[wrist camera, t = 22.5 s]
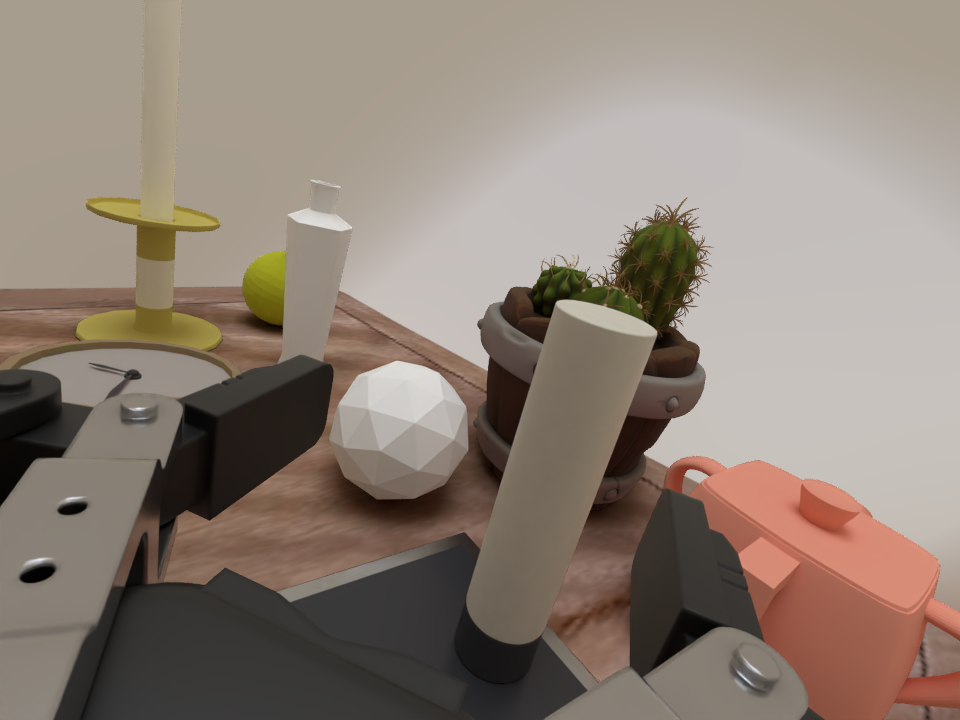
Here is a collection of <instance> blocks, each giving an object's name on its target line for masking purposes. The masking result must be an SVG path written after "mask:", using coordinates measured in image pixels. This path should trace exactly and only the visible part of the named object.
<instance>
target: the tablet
mask: <svg viewBox="0 0 960 720" xmlns="http://www.w3.org/2000/svg"><path fill="white" fill-rule="evenodd" d="M479 553H480V549H479V548H478V547H477V546H476V544H475V543H474V542H473V541H472V540H471V539H470V538H469V537H468V535H467V534H466V533H465V532H463V533H460V534H457V535H454V536H451V537H447V538H444V539H441V540H438V541H435V542H432V543H428V544H425V545H422V546H419V547H416V548H413V549H409V550H406V551H403V552H400V553H397V554H394V555H391V556H387V557H384V558H381V559H378V560H375V561H372V562H368V563H365V564H362V565H359V566H356V567H353V568H349V569H346V570H343V571H340V572H337V573H334V574H330V575H327V576H324V577H321V578H318V579H315V580H312V581H308V582H305V583H302V584H299V585H296V586H293V587H289V588H286V589H283V590H280V591H277V593H279V594H281V595H282V596H283V597H284V598H286V599H287V600H288V601H289V602H290V603H291V604H292V605H294V606H295V607H296V608H297V609H298V610H299V611H301V612H302V613H303V614H304V615H305V616H306V617H307V618H309V619H310V620H311V621H312V622H313V623H314V624H315V625H317V626H318V627H319V628H320V629H321V630H322V631H323V632H325V633H326V634H327V635H329V636H331V637H333V638H336V639H340V640H345V641H350V642H354V643H359V644H364V645H368V646H373V647H378V648H383V649H387V650H392V651H397V652H402V653H405V654H407V655H410V656H412V657H414V658H416V659H418V660H420V661H422V662H424V663H426V664H428V665H430V666H433V667H435V668H437V669H439V670H441V671H443V672H445V673H447V674H449V675H451V676H454V677H456V678H458V679H460V680H462V681H464V682H466V683H468V684H469V687H468V690H467V693H466V696H465V699H464V702H463V705H462V709H463V710H464V711H465V712H466V713H468V714H469V715H470V716H471V717H472V718H473V719H474V720H543V719H545V718H546V717H548V716H549V715H551V714H552V713H554V712H556V711H557V710H559V709H560V708H562V707H563V706H565V705H566V704H568V703H570V702H571V701H573V700H574V699H576V698H577V697H579V696H580V695H582V694H584V693H585V692H587V691H588V690H590V689H591V688H593V687H594V686H596V685H598V684H599V682H598V681H597V680H596V679H595V677H594V676H593V675H592V674H591V673H590V672H589V671H588V670H587V669H586V667H585V666H584V665H583V664H582V663H581V662H580V661H579V660H578V658H577V657H576V656H575V655H574V654H573V653H572V652H571V651H570V650H569V648H568V647H567V646H566V645H565V644H564V643H563V642H562V641H561V639H560V638H559V637H558V636H557V635H556V634H555V633H554V632H553V631H552V629H551V628H550V627H549V626H548V625H547V624H546V627H545V629H544V632H543V635H542V638H541V640H540V643H539V645H538V648H537V651H536V653H535V656H534V658H533V661H532V664H531V666H530V668H529V670H528V671H527V673H526V674H525V675H524V676H522V677H521V678H520V679H518V680H516V681H513V682H510V683H494V682H490V681H487V680H484V679H482V678H480V677H478V676H477V675H475V674H474V673H472V672H471V671H470V670H469V669H468V668H467V667H466V666H465V665H464V663H463V662H462V660H461V659H460V657H459V655H458V653H457V650H456V646H455V632H456V629H457V626H458V622H459V619H460V616H461V612H462V609H463V606H464V603H465V599H466V596H467V593H468V589H469V586H470V583H471V580H472V576H473V573H474V570H475V566H476V563H477V560H478V557H479Z"/></svg>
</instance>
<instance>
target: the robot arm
mask: <svg viewBox="0 0 960 720" xmlns="http://www.w3.org/2000/svg"><path fill="white" fill-rule="evenodd" d="M332 382H333V368H332V366H331V365H330V364H328V363H325V362H322V361H319V360H317V359H314V358H311V357H308V356H306V355H298V356H296V357H293V358H291V359H289V360H286V361H284V362H281V363H279V364H277V365H274V366H268V367H261V368H254V369H251V370H249V371H246V372H244V373H241V374H239V375H236V377H235V378H234V377H232V378H229V379H227V380H224V381H222V383H221V384H220V383H217V384H214V385H212V386H209V387H207V388H204V389H202V390H199V391H197V392H194V393H192V394H189V395H187V396H184V397H182V398H180V399H177V400H175V399H173V398H171V397H168V396H164V395H160V394H153V393H130V394H123V395H118V396H114V397H111V398H108V399H105V400H103V401H102V402H100V403H98V404H97V405H96V406H95V407H94V408H93V407H87V406H82V405H76V404H71V403H65V402H62V392H61V381H60V380H59V378H57V377H56V376H54V375H52V374H50V373H46V372H42V371H37V370H27V369H8V370H0V720H474V719H473V718H472V717H471V716H470V715H469V714H468V713H466V712H465V711H464V710H463V709H462V705H463V702H464V699H465V696H466V693H467V690H468V687H469V684H468V683H466V682H464V681H462V680H460V679H458V678H456V677H454V676H451V675H449V674H447V673H445V672H443V671H441V670H439V669H437V668H435V667H433V666H430V665H428V664H426V663H424V662H422V661H420V660H418V659H416V658H414V657H412V656H410V655H407V654H405V653H402V652H397V651H392V650H387V649H383V648H378V647H373V646H368V645H364V644H359V643H354V642H350V641H345V640H340V639H336V638H333V637H331V636H329V635H327V634H326V633H325V632H323V631H322V630H321V629H320V628H319V627H318V626H317V625H315V624H314V623H313V622H312V621H311V620H310V619H309V618H307V617H306V616H305V615H304V614H303V613H302V612H301V611H299V610H298V609H297V608H296V607H295V606H294V605H292V604H291V603H290V602H289V601H288V600H287V599H286V598H284V597H283V596H282V595H281V594H279V593H277V592H275V591H273V590H271V589H269V588H267V587H265V586H263V585H260V584H258V583H256V582H254V581H252V580H250V579H248V578H246V577H244V576H242V575H239V574H237V573H235V572H233V571H231V570H229V569H227V568H224V569H223V570H222V571H221V572H220V573H218V574H217V575H216V576H215V577H214V578H213V579H211V580H210V581H209V582H208V583H207V584H206V585H201V584H193V583H182V582H164V579H165V575H166V571H167V567H168V563H169V559H170V555H171V551H172V547H173V543H174V539H175V535H176V531H177V525H178V515H179V514H181V513H183V512H184V511H186V510H188V511H190V512H192V513H194V514H196V515H199V516H201V517H203V518H205V519H207V520H209V521H210V520H211V519H212V518H214V517H215V516H217V515H218V514H219V513H221V512H222V511H224V510H225V509H226V508H228V507H229V506H230V505H232V504H233V503H235V502H236V501H237V500H239V499H240V498H242V497H243V496H244V495H246V494H247V493H249V492H250V491H251V490H253V489H254V488H256V487H257V486H258V485H260V484H261V483H262V482H264V481H265V480H267V479H268V478H269V477H271V476H272V475H274V474H275V473H276V472H278V471H279V470H281V469H282V468H283V467H285V466H286V465H288V464H289V463H290V462H292V461H293V460H294V459H296V458H297V457H299V456H300V455H301V454H303V453H304V452H306V451H307V450H308V449H310V448H311V447H312V446H314V445H315V444H316V442H317V441H318V440H319V438H320V437H321V435H322V433H323V431H324V428H325V425H326V420H327V414H328V407H329V401H330V395H331V388H332ZM743 573H744V572H743V568H742V565H741V562H740V558H739V555H738V553H737V552H736V550H735V549H734V548H733V546H732V545H731V544H730V543H729V541H728V540H727V539H726V537H725V536H724V535H723V534H722V533H720V532H717V531H714V530H712V529H709V524H708V520H707V516H706V512H705V507H704V504H703V502H702V501H701V500H698V499H695V498H692V497H690V496H687V495H684V494H682V493H679V492H676V491H673V490H671V489H668V488H666V489H664V491H663V492H662V494H661V495H660V498H659V500H658V502H657V504H656V507H655V509H654V511H653V513H652V516H651V518H650V520H649V523H648V525H647V527H646V529H645V532H644V534H643V536H642V539H641V541H640V543H639V545H638V548H637V551H636V554H635V557H634V561H633V565H632V571H631V611H630V666H629V667H625V668H623V669H621V670H619V671H618V672H616V673H615V674H613V675H611V676H610V677H608V678H607V679H605V680H604V681H602V682H601V683H599V684H598V685H596V686H594V687H593V688H591V689H590V690H588V691H587V692H585V693H584V694H582V695H580V696H579V697H577V698H576V699H574V700H573V701H571V702H570V703H568V704H566V705H565V706H563V707H562V708H560V709H559V710H557V711H556V712H554V713H552V714H551V715H549V716H548V717H546V718H545V719H543V720H825V719H823V718H822V717H821V716H819V715H818V714H816V713H815V712H814V711H813V710H811V709H810V708H809V707H808V703H809V702H808V695H807V692H806V689H805V686H804V684H803V682H802V680H801V679H800V677H799V676H798V674H797V673H796V671H795V670H794V669H793V668H792V666H791V665H790V664H789V663H788V662H787V661H786V660H785V659H784V658H783V657H782V656H781V655H780V654H779V653H778V652H777V651H775V650H774V649H773V648H772V647H770V646H769V645H768V644H766V643H765V641H764V638H763V635H762V631H761V628H760V625H759V621H758V618H757V615H756V611H755V608H754V605H753V601H752V598H751V595H750V592H748V589H749V588H748V585H747V582H746V578H745V576H743Z"/></svg>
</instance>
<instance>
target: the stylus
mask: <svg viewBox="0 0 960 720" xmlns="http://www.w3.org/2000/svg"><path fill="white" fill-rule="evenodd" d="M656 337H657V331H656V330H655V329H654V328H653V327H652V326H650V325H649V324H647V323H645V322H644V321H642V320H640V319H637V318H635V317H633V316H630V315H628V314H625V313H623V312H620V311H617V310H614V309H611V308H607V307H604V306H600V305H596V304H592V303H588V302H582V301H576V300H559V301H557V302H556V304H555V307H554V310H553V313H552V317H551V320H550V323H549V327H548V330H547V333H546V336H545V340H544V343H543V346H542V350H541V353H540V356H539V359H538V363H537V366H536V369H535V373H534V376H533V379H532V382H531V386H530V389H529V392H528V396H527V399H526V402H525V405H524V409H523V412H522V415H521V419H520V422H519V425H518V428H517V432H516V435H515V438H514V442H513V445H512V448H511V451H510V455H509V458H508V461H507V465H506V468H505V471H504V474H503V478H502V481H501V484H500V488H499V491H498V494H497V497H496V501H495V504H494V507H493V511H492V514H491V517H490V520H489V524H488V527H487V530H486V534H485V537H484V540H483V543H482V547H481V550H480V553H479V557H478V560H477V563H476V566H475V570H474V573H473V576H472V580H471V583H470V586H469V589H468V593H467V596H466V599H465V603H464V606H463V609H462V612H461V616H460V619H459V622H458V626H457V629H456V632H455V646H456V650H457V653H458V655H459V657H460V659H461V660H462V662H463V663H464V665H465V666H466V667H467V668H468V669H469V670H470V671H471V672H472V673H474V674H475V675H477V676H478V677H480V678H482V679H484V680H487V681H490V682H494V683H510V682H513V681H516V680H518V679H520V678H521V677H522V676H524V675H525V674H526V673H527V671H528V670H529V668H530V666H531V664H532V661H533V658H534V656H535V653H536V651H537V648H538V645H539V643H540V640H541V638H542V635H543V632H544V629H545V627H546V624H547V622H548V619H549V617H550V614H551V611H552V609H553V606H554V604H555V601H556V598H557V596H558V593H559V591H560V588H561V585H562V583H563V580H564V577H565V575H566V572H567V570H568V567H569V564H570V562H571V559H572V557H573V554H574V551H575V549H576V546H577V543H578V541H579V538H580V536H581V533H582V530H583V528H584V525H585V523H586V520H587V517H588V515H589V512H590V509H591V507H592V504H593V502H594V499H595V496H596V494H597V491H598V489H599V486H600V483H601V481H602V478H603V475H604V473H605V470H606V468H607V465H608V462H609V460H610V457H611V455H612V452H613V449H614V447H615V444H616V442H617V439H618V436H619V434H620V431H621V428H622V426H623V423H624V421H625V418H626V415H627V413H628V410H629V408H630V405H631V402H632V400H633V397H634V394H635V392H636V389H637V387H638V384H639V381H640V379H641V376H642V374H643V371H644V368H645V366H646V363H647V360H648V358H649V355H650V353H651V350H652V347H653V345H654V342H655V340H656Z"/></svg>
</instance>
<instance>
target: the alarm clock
mask: <svg viewBox="0 0 960 720" xmlns="http://www.w3.org/2000/svg"><path fill="white" fill-rule="evenodd" d="M8 369H27V370H37V371H42V372H46V373H50V374H52V375H54V376H56V377H57V378H59V380H60V381H61V392H62V402H65V403H71V404H76V405H82V406H87V407H93V408H94V407H95V406H96V405H97V404H98V403H100V402H102V401H103V400H105V399H108V398H111V397H114V396H118V395H123V394H130V393H153V394H160V395H164V396H168V397H171V398H173V399H175V400H177V399H180V398H182V397H184V396H187V395H189V394H192V393H194V392H197V391H199V390H202V389H204V388H207V387H209V386H212V385H214V384H217V383H220V384H221V383H222V381H224V380H227V379H229V378H232V377H234V378H235V377H236V375H239V374H241V371H240V370H239V369H238V368H237V367H236V366H235V365H234V364H233V363H232V362H231V361H229V360H227V359H225V358H223V357H221V356H219V355H217V354H214V353H211V352H207V351H204V350H201V349H197V348H194V347H189V346H183V345H178V344H172V343H166V342H157V341H144V340H132V339H96V340H84V341H72V342H62V343H57V344H52V345H47V346H41V347H36V348H32V349H29V350H27V351H24V352H21V353H19V354H16V355H13V356H11V357H8V358H7V359H6V360H5V361H4V362H3V363H2V364H0V370H8Z"/></svg>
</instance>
